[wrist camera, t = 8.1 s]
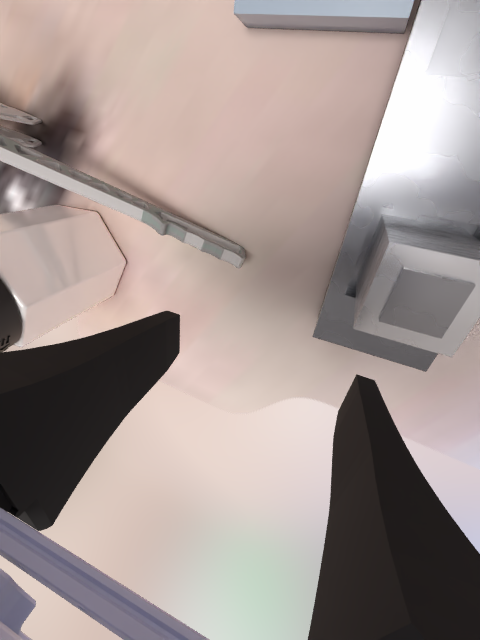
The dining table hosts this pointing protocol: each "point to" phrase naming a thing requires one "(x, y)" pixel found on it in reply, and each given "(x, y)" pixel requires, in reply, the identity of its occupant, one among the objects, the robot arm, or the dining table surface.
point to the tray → (326, 14)
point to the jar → (52, 269)
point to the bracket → (106, 191)
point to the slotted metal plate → (416, 162)
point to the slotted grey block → (419, 284)
